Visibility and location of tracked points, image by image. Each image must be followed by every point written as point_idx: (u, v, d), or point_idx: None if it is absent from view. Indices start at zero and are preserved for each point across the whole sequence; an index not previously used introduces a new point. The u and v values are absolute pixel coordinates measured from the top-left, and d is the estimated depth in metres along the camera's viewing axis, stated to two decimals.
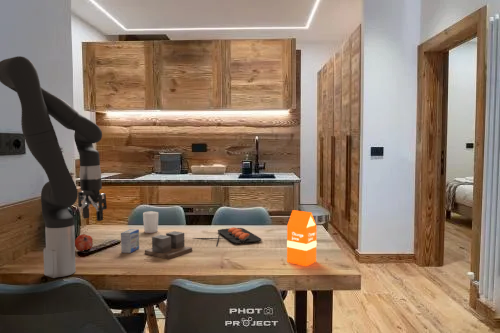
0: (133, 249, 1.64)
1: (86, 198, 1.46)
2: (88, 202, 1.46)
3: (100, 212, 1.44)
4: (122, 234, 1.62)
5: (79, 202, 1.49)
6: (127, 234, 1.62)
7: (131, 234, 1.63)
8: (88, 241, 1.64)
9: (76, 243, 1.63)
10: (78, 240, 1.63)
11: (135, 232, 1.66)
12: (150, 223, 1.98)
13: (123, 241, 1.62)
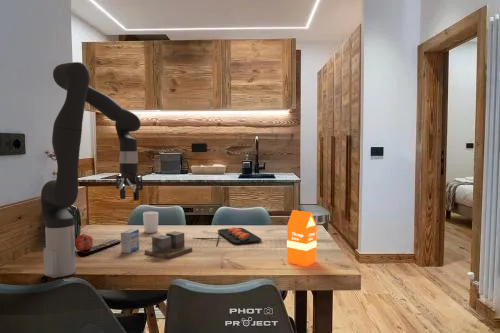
0: (133, 249, 1.64)
1: (124, 180, 1.64)
2: (126, 184, 1.64)
3: (137, 193, 1.62)
4: (122, 234, 1.62)
5: (117, 184, 1.67)
6: (127, 234, 1.62)
7: (131, 234, 1.63)
8: (88, 241, 1.64)
9: (76, 243, 1.63)
10: (78, 240, 1.63)
11: (135, 232, 1.66)
12: (150, 223, 1.98)
13: (123, 241, 1.62)
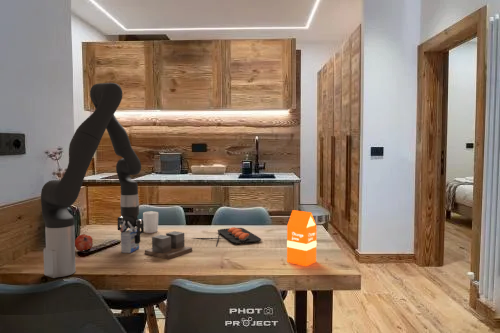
0: (133, 249, 1.64)
1: (125, 223, 1.65)
2: (127, 226, 1.65)
3: (138, 236, 1.63)
4: (122, 234, 1.62)
5: (118, 226, 1.68)
6: (127, 234, 1.62)
7: (131, 234, 1.63)
8: (88, 241, 1.64)
9: (76, 243, 1.63)
10: (78, 240, 1.63)
11: None
12: (150, 223, 1.98)
13: (123, 241, 1.62)
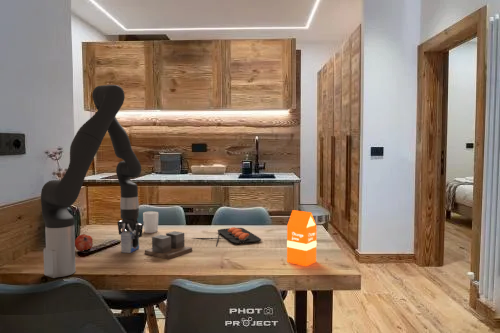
0: (133, 249, 1.64)
1: (125, 225, 1.65)
2: (127, 229, 1.65)
3: (136, 239, 1.64)
4: (122, 234, 1.62)
5: (119, 230, 1.68)
6: (127, 234, 1.62)
7: (131, 234, 1.63)
8: (88, 241, 1.64)
9: (76, 243, 1.63)
10: (78, 240, 1.63)
11: None
12: (150, 223, 1.98)
13: (123, 241, 1.62)
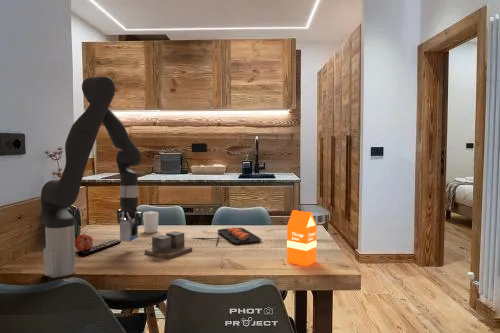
0: (132, 238, 1.64)
1: (124, 214, 1.64)
2: (126, 217, 1.64)
3: (135, 228, 1.63)
4: (121, 222, 1.62)
5: (118, 219, 1.67)
6: (126, 222, 1.61)
7: (130, 222, 1.62)
8: (88, 241, 1.64)
9: (76, 243, 1.63)
10: (78, 240, 1.63)
11: None
12: (150, 223, 1.98)
13: (122, 229, 1.62)
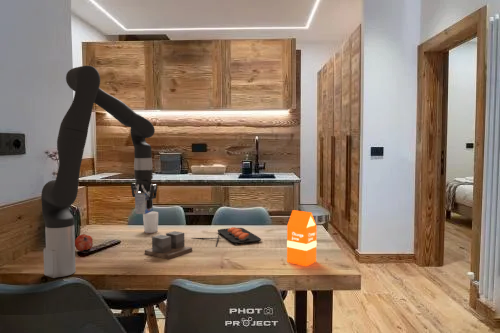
0: (147, 210, 1.63)
1: (139, 187, 1.63)
2: (141, 190, 1.63)
3: (150, 201, 1.62)
4: (136, 195, 1.61)
5: (133, 192, 1.66)
6: (141, 195, 1.60)
7: (145, 195, 1.61)
8: (88, 241, 1.64)
9: (76, 243, 1.63)
10: (78, 240, 1.63)
11: None
12: (150, 223, 1.98)
13: (137, 202, 1.61)
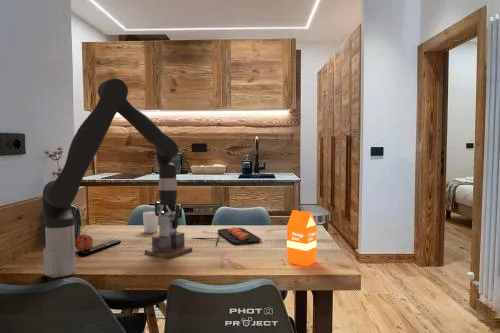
0: (171, 233, 1.61)
1: (163, 207, 1.61)
2: (165, 211, 1.62)
3: (176, 221, 1.60)
4: (160, 218, 1.59)
5: (156, 211, 1.65)
6: (165, 217, 1.58)
7: (169, 218, 1.59)
8: (88, 241, 1.64)
9: (76, 243, 1.63)
10: (78, 240, 1.63)
11: None
12: (150, 223, 1.98)
13: (161, 225, 1.59)
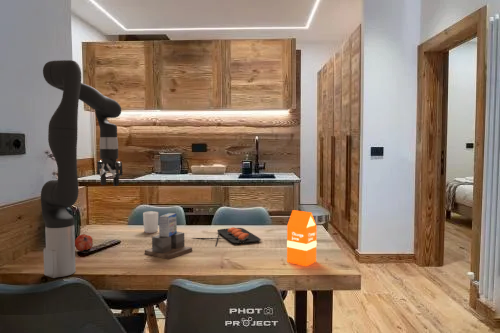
0: (171, 233, 1.61)
1: (104, 166, 1.66)
2: (106, 170, 1.66)
3: (116, 178, 1.64)
4: (160, 218, 1.59)
5: (98, 170, 1.69)
6: (165, 217, 1.58)
7: (169, 218, 1.59)
8: (88, 241, 1.64)
9: (76, 243, 1.63)
10: (78, 240, 1.63)
11: (173, 216, 1.63)
12: (150, 223, 1.98)
13: (161, 225, 1.59)
